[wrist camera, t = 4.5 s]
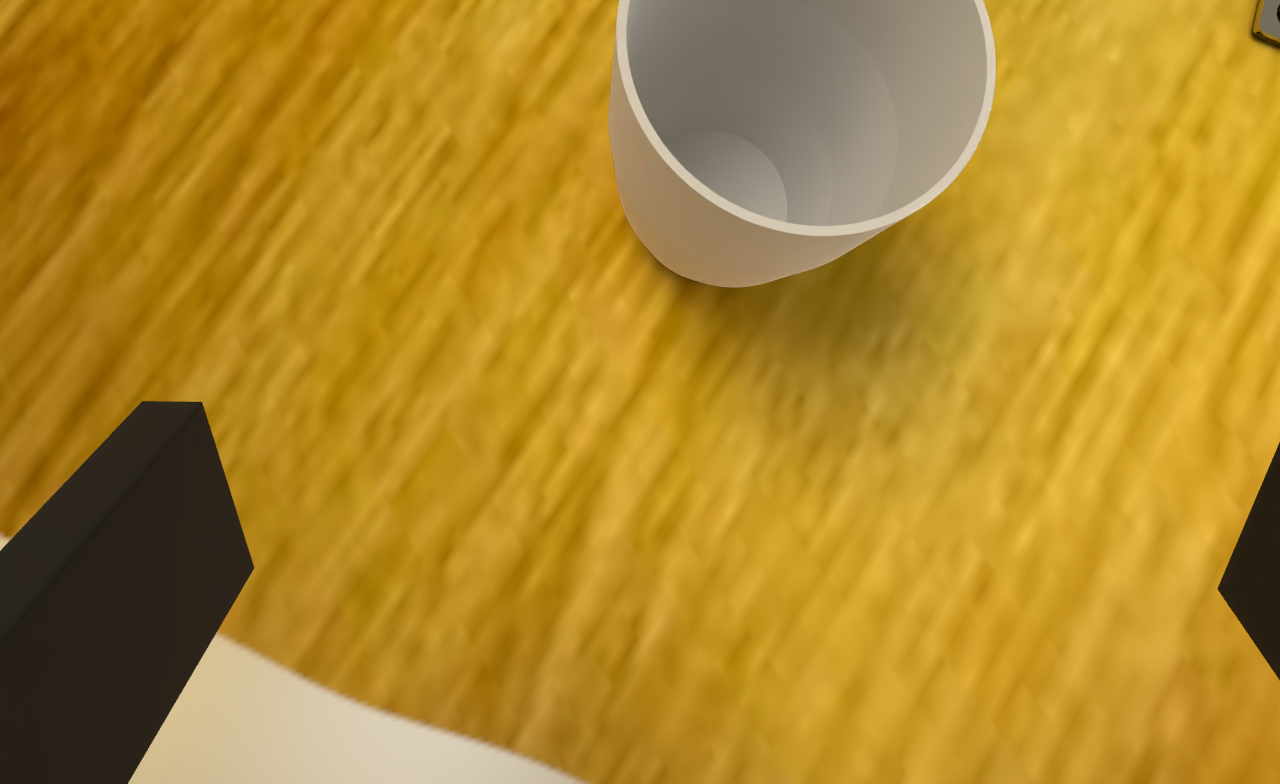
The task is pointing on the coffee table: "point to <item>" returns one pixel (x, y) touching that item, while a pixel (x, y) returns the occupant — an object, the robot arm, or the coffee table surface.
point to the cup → (789, 125)
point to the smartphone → (1268, 21)
